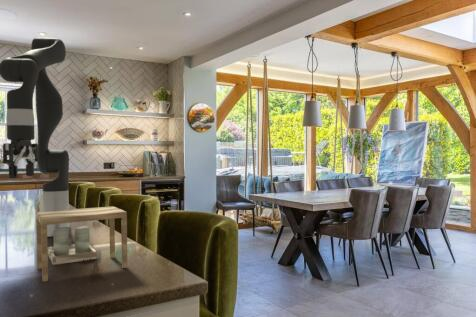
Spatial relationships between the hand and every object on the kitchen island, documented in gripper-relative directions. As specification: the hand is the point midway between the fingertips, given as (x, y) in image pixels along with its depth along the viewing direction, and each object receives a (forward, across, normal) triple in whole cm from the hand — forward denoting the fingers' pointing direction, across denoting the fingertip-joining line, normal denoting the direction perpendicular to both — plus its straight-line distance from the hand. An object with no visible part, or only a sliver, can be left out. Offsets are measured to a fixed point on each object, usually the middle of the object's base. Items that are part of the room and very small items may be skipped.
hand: (22, 176), depth 124 cm
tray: (+25, +3, -13) cm, 28 cm away
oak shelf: (+24, -13, -25) cm, 37 cm away
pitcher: (+26, +53, +21) cm, 63 cm away
